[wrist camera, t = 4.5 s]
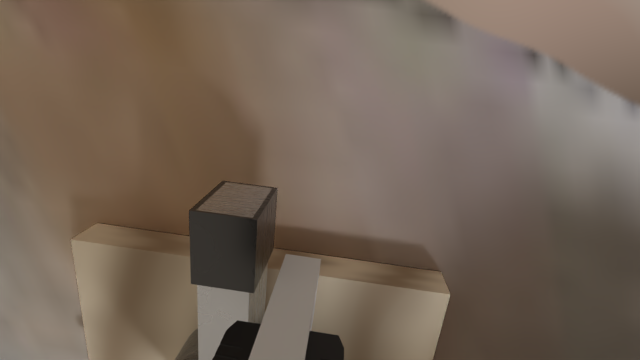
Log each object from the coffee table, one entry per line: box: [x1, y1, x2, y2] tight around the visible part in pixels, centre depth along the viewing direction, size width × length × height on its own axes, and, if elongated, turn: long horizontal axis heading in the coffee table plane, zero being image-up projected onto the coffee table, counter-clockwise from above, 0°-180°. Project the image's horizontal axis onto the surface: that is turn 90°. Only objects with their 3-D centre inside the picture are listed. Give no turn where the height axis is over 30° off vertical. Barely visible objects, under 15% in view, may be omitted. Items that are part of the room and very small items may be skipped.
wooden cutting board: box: [70, 223, 450, 360], centre depth 21 cm, size 20×14×2 cm
